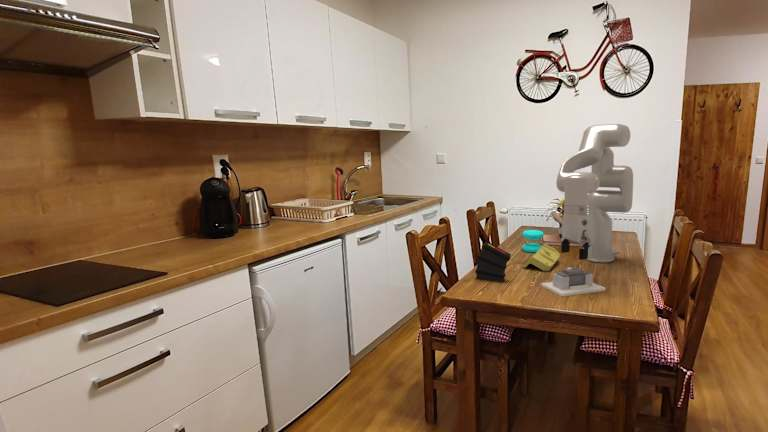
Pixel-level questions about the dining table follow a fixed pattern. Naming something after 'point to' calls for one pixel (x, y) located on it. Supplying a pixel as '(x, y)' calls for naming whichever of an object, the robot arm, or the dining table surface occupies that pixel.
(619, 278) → the dining table surface
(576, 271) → the servo
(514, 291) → the dining table surface
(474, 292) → the dining table surface
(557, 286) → the cradle
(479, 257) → the black ridged block
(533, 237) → the cyan spool
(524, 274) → the dining table surface
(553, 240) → the case
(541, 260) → the plastic component
